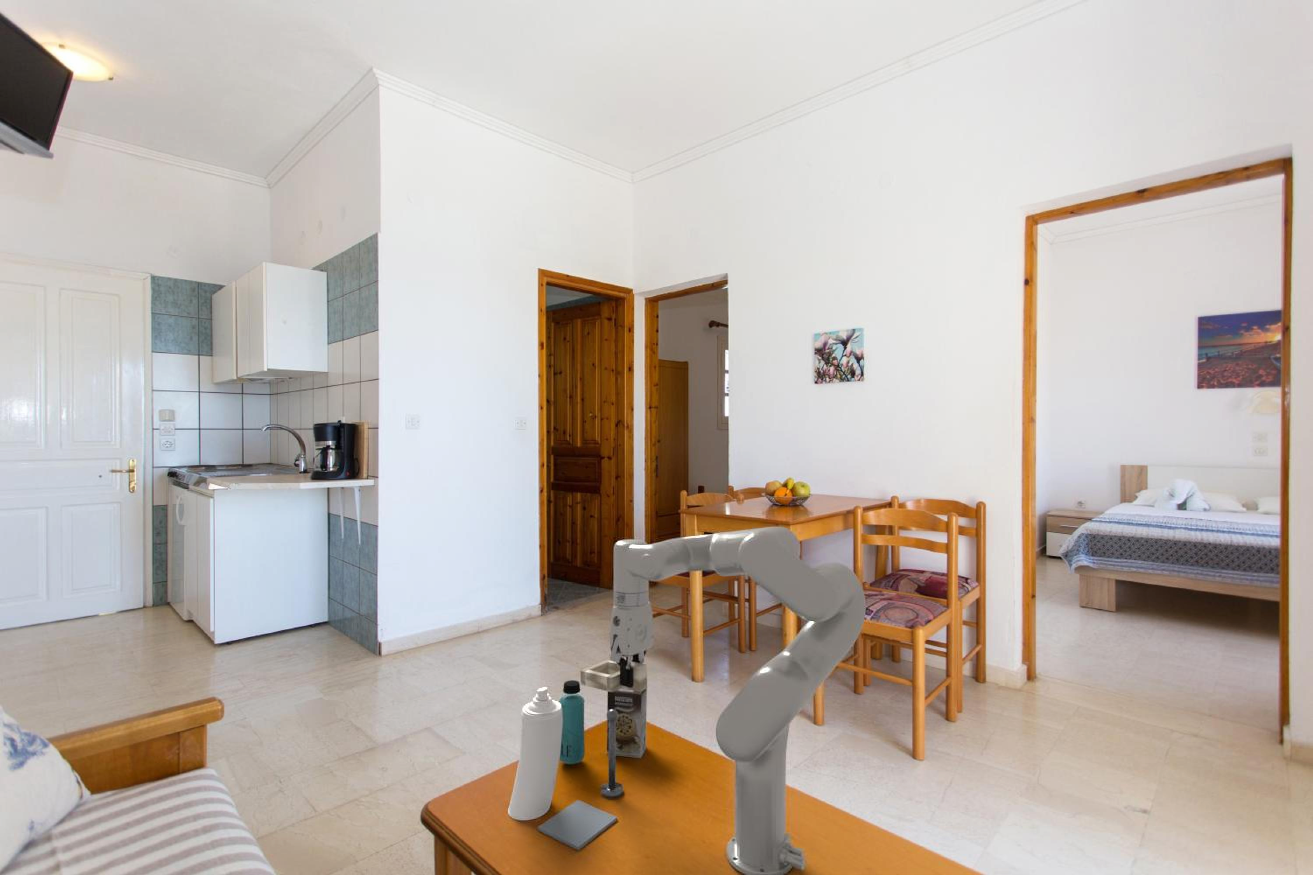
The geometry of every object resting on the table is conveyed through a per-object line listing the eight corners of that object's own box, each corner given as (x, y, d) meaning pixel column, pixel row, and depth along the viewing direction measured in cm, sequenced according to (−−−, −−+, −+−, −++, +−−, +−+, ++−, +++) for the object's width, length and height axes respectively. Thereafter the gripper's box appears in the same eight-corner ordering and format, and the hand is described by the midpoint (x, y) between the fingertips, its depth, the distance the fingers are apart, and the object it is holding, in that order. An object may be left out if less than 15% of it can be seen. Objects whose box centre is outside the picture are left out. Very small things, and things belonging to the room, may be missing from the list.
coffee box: (605, 754, 160) (606, 690, 160) (613, 743, 166) (613, 681, 166) (641, 759, 158) (641, 694, 158) (647, 746, 164) (647, 684, 164)
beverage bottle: (587, 757, 158) (587, 677, 158) (581, 771, 152) (582, 687, 152) (561, 756, 159) (562, 676, 159) (555, 770, 152) (555, 686, 152)
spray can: (521, 788, 144) (522, 678, 144) (567, 792, 143) (567, 680, 143) (501, 818, 133) (502, 698, 133) (550, 823, 131) (551, 701, 131)
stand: (627, 790, 143) (627, 708, 143) (613, 800, 139) (613, 716, 139) (610, 783, 146) (610, 702, 146) (596, 793, 142) (596, 710, 142)
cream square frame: (656, 683, 138) (655, 660, 138) (630, 696, 131) (629, 672, 131) (608, 672, 146) (607, 650, 146) (580, 684, 139) (580, 661, 139)
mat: (617, 819, 132) (617, 816, 132) (578, 850, 123) (578, 846, 123) (577, 802, 139) (577, 799, 139) (537, 829, 129) (537, 826, 129)
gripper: (620, 608, 128) (620, 700, 128) (667, 593, 141) (667, 676, 140) (592, 602, 132) (592, 691, 132) (640, 588, 145) (640, 669, 145)
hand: (631, 682), depth 136 cm, fingers closed on cream square frame
